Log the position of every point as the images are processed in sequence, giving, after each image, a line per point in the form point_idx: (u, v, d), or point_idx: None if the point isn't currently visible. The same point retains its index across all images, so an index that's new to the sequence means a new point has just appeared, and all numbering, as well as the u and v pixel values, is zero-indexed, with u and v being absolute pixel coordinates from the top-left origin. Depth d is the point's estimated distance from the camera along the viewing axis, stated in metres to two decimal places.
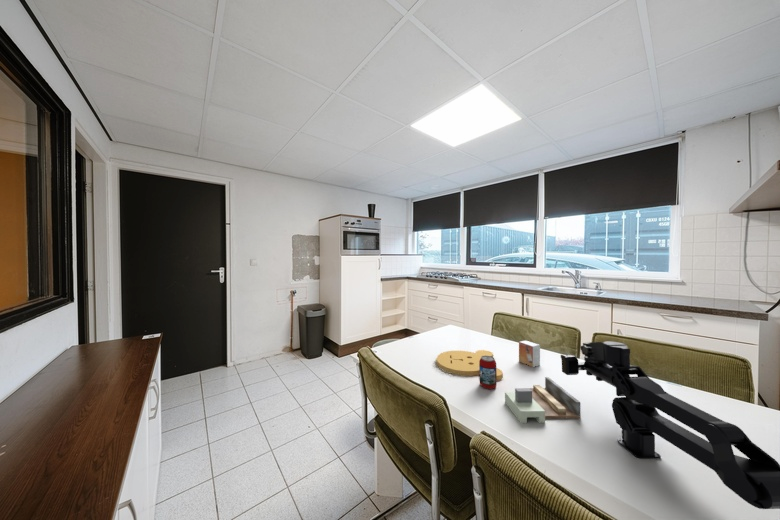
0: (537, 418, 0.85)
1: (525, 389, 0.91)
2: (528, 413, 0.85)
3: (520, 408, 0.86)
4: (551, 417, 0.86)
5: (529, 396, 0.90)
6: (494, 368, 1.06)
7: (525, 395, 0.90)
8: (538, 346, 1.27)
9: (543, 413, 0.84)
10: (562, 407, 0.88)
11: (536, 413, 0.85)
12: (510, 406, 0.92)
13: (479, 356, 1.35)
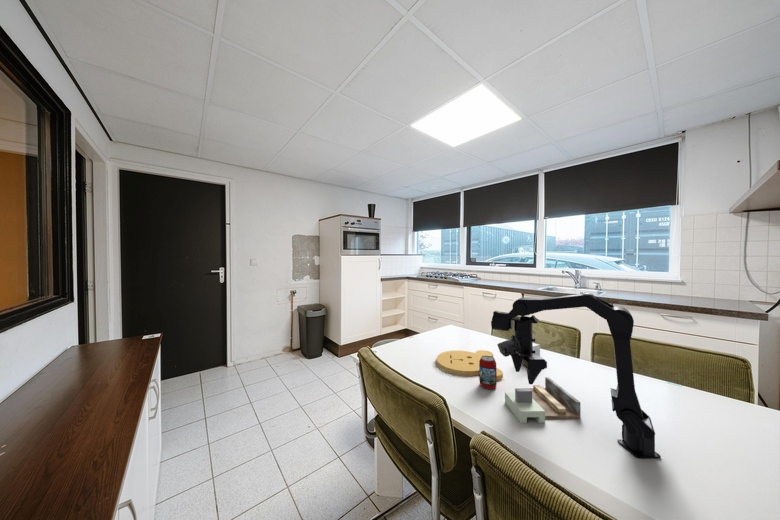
0: (537, 418, 0.85)
1: (525, 389, 0.91)
2: (528, 413, 0.85)
3: (520, 408, 0.86)
4: (551, 417, 0.86)
5: (529, 396, 0.90)
6: (494, 368, 1.06)
7: (525, 395, 0.90)
8: (538, 346, 1.27)
9: (543, 413, 0.84)
10: (562, 407, 0.88)
11: (536, 413, 0.85)
12: (510, 406, 0.92)
13: (479, 356, 1.35)
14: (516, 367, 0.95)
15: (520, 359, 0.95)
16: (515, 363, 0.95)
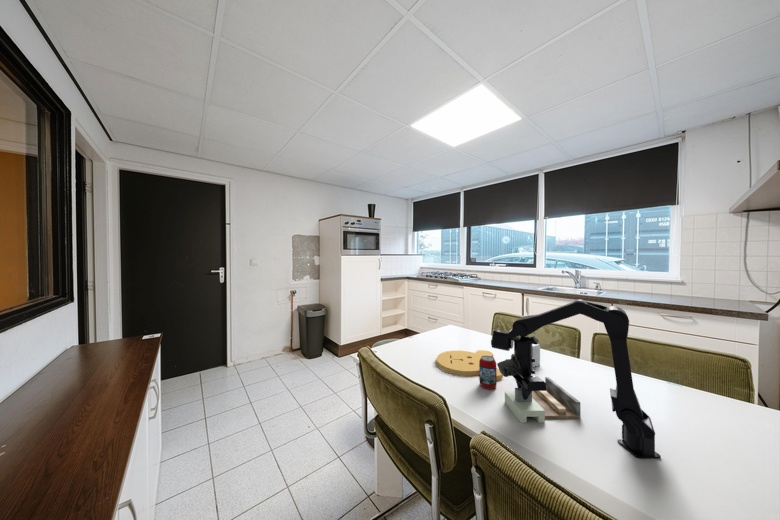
0: (537, 417, 0.86)
1: None
2: (528, 413, 0.85)
3: (519, 407, 0.86)
4: (551, 417, 0.86)
5: None
6: (494, 368, 1.06)
7: None
8: (538, 346, 1.27)
9: (543, 412, 0.85)
10: (562, 407, 0.88)
11: (536, 412, 0.85)
12: (510, 405, 0.92)
13: (479, 356, 1.35)
14: None
15: None
16: (519, 387, 0.92)
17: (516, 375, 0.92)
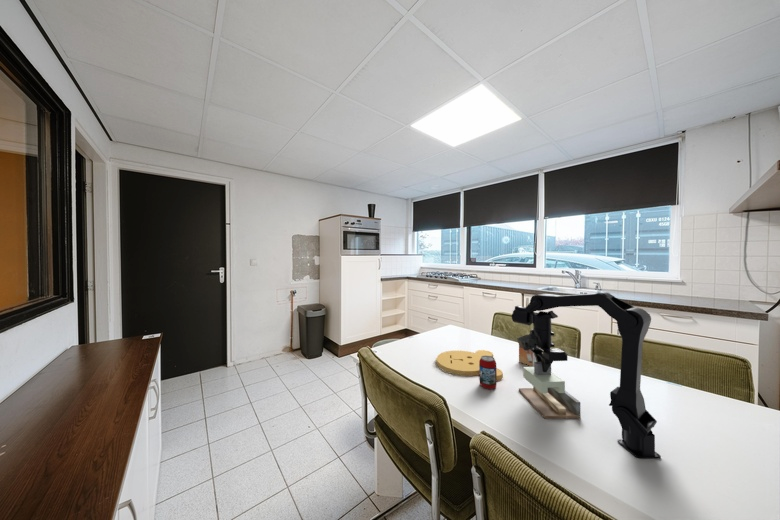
0: (557, 388, 0.89)
1: None
2: (548, 384, 0.88)
3: (540, 379, 0.90)
4: (551, 417, 0.86)
5: None
6: (494, 368, 1.06)
7: None
8: None
9: (563, 383, 0.88)
10: (562, 407, 0.88)
11: (556, 383, 0.88)
12: (529, 379, 0.96)
13: (479, 356, 1.35)
14: None
15: None
16: (538, 360, 0.95)
17: (535, 349, 0.96)
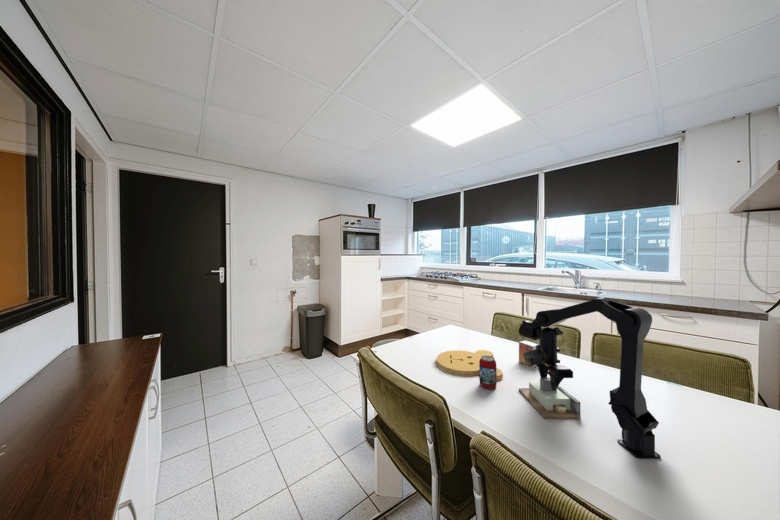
0: None
1: None
2: (554, 401, 0.89)
3: (546, 396, 0.91)
4: (551, 417, 0.86)
5: None
6: (494, 368, 1.06)
7: (550, 385, 0.94)
8: None
9: (568, 401, 0.89)
10: (562, 407, 0.88)
11: (562, 401, 0.89)
12: (535, 395, 0.97)
13: (479, 356, 1.35)
14: (542, 377, 0.98)
15: (546, 369, 0.99)
16: (541, 373, 0.98)
17: None
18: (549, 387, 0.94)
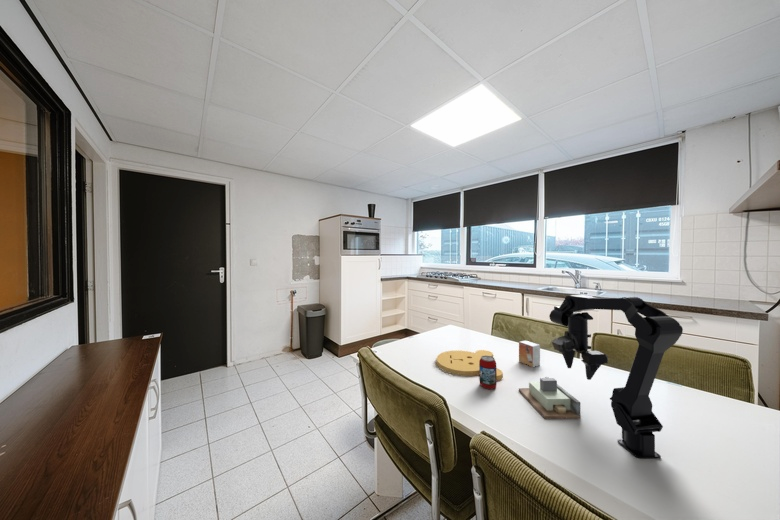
0: None
1: (550, 379, 0.95)
2: (554, 401, 0.89)
3: (546, 396, 0.91)
4: (551, 417, 0.86)
5: (553, 385, 0.94)
6: (494, 368, 1.06)
7: (550, 385, 0.94)
8: (538, 346, 1.27)
9: (568, 401, 0.89)
10: (562, 407, 0.88)
11: (562, 401, 0.89)
12: (535, 395, 0.97)
13: (479, 356, 1.35)
14: (568, 363, 0.96)
15: (571, 355, 0.96)
16: (567, 359, 0.96)
17: None
18: (549, 387, 0.94)
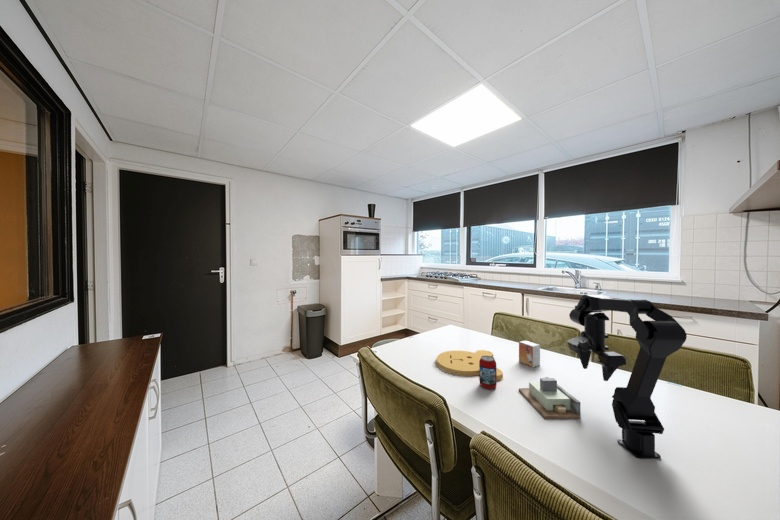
0: None
1: (550, 379, 0.95)
2: (554, 401, 0.89)
3: (546, 396, 0.91)
4: (551, 417, 0.86)
5: (553, 385, 0.94)
6: (494, 368, 1.06)
7: (550, 385, 0.94)
8: (538, 346, 1.27)
9: (568, 401, 0.89)
10: (562, 407, 0.88)
11: (562, 401, 0.89)
12: (535, 395, 0.97)
13: (479, 356, 1.35)
14: (584, 364, 0.94)
15: (588, 356, 0.95)
16: (583, 360, 0.95)
17: None
18: (549, 387, 0.94)
